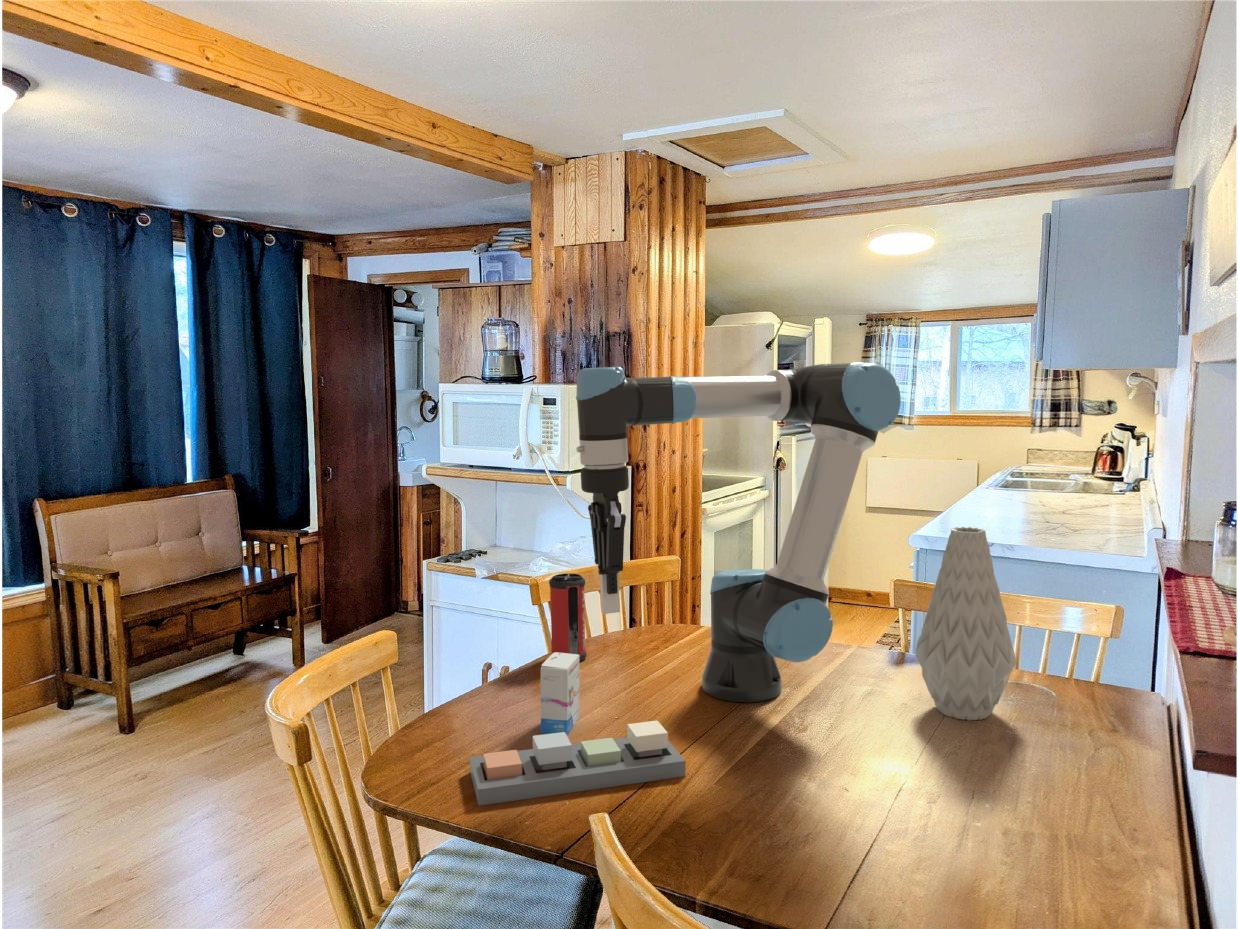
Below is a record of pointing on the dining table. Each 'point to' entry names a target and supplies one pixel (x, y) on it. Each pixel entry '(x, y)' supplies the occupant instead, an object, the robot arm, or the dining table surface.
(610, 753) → the key sage
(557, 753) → the key bluegrey
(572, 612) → the speaker
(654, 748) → the key cream
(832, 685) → the dining table surface
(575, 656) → the ink box
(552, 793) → the keypad base
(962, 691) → the vase
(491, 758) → the key terracotta
